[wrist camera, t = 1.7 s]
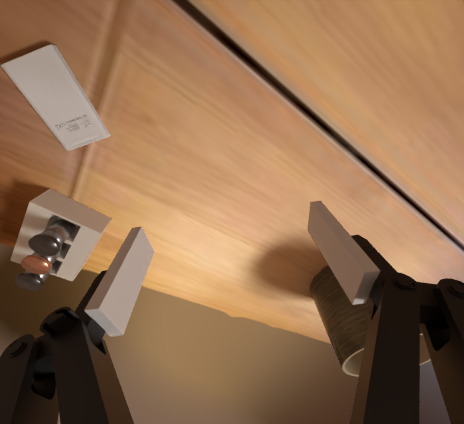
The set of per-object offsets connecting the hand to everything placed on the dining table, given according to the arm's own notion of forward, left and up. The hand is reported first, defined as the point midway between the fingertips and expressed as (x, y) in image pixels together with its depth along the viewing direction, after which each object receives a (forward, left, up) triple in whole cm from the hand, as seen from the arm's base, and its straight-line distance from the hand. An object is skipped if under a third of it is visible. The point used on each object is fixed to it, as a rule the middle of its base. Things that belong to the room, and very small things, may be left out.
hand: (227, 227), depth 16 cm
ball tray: (-15, -36, -24) cm, 46 cm away
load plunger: (-15, -36, -20) cm, 44 cm away
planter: (+55, -9, -24) cm, 61 cm away
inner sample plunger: (-15, -30, -20) cm, 39 cm away
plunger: (-15, -42, -20) cm, 49 cm away
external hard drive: (-23, -10, -25) cm, 36 cm away
